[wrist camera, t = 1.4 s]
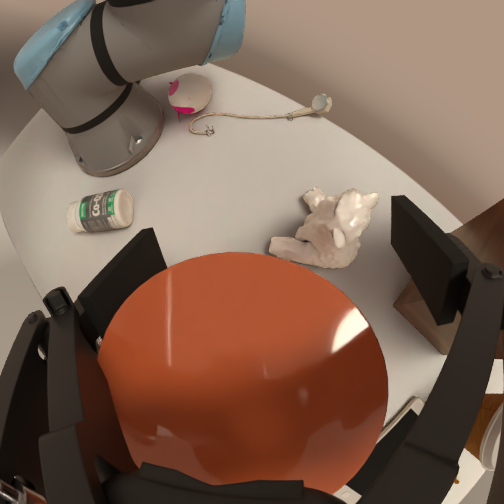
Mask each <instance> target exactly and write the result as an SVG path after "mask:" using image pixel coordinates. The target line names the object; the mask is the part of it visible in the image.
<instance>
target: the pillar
mask: <svg viewBox="0 0 504 504" xmlns="http://www.w3.org/2000/svg"><path fill="white" fill-rule="evenodd" d="M450 234H452V235H454V236H456V237H458V238H459V239H460V240H461V241H462V242H463V243H464V245H466V246H467V247H468V248H469V250H471V251H472V252H473V253H474V254H475V256H476V257H477V258H478V259H479V260H480V261H481V262H482V263H492V264H494V265H497V266H498V267H500V268H501V269H502V270H503V271H504V199H502V200H501V201H499V202H498V203H496V204H495V205H493V206H492V207H490V208H489V209H487V210H486V211H485V212H483V213H481V214H480V215H478V216H477V217H475V218H474V219H472V220H470V221H469V222H467V223H466V224H464V225H463V226H461V227H459V228H458V229H456V230H454V231H453V232H451V233H450ZM393 307H394V308H396V309H397V310H398V311H399V312H400V313H401V314H402V315H403V316H404V317H405V318H406V319H407V320H408V321H409V322H410V323H411V324H412V325H413V326H414V327H415V328H416V329H417V330H418V331H419V332H420V333H422V334H423V335H424V336H425V337H426V338H427V339H428V340H429V341H430V342H431V343H432V344H433V345H434V346H435V347H436V348H437V349H438V350H439V351H440V353H441V354H442V355H448V353H449V351H450V348H451V346H452V343H453V340H454V338H455V335H456V332H457V329H458V327H459V324H460V321H461V318H462V317H461V315H460V313H459V312H458V310H457V313H456V316H455V319H454V322H453V323H449V324H445V325H440V326H437V324H436V322H435V320H434V318H433V317H432V315H431V313H430V311H429V309H428V307H427V305H426V303H425V301H424V299H423V298H422V296H421V294H420V292H419V290H418V288H417V287H416V285H415V283H414V281H413V280H412V278H411V280H410V281H409V283H408V284H407V286H406V287H405V289H404V290H403V292H402V293H401V295H400V296H399V298H398V299H397V301H396V302H395V304H394V305H393ZM494 359H503V350H502V338H501V330H500V333H499V339H498V344H497V349H496V353H495V358H494Z"/></svg>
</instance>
